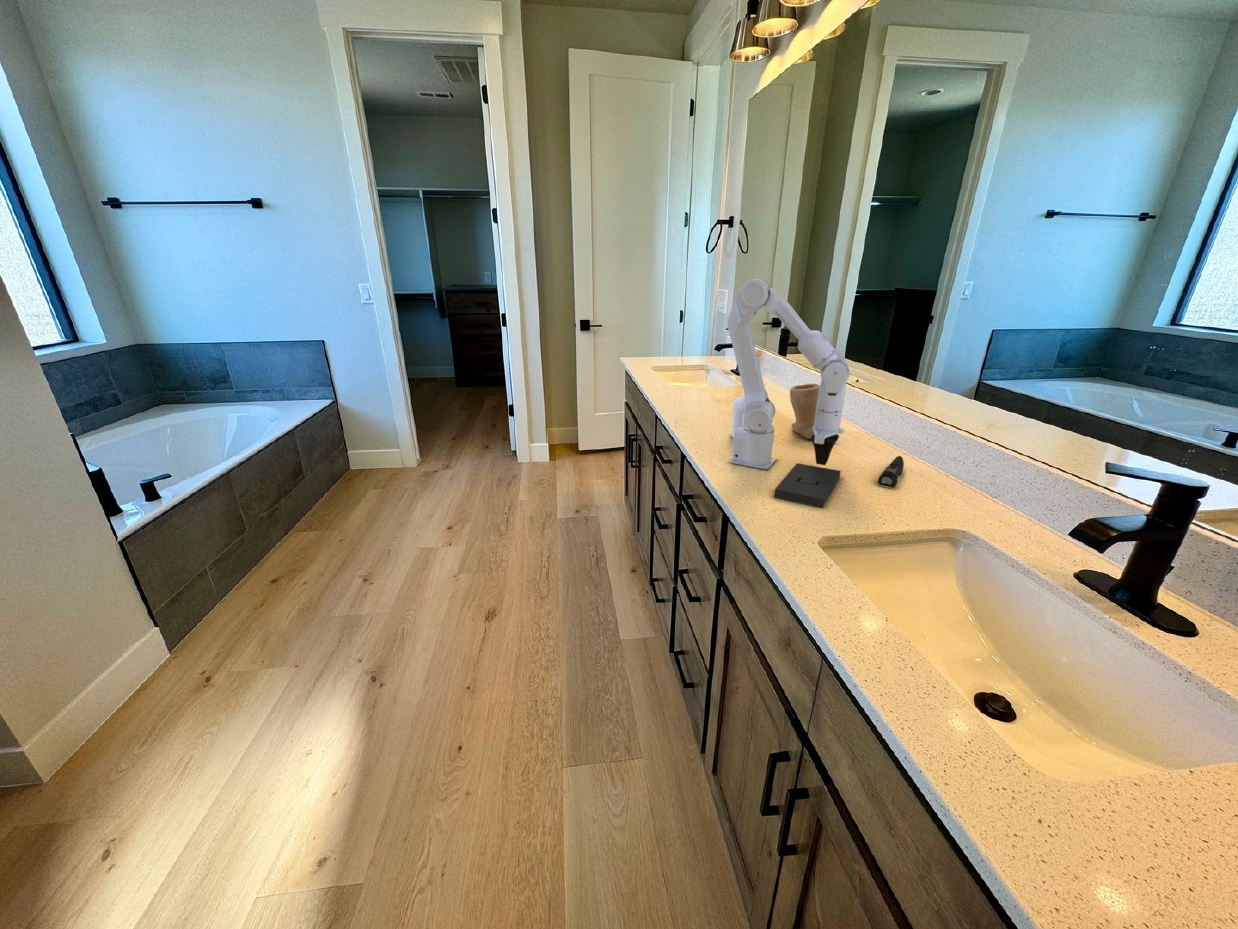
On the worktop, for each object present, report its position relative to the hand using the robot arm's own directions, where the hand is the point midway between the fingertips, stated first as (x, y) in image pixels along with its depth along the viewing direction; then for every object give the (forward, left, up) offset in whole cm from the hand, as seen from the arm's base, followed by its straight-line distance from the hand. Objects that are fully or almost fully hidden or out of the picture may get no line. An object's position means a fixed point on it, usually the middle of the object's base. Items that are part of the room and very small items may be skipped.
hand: (821, 463), depth 120 cm
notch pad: (0, -17, -2) cm, 17 cm away
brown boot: (-9, +27, -2) cm, 28 cm away
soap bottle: (-24, +16, -2) cm, 29 cm away
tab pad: (0, -9, -2) cm, 9 cm away
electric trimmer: (+15, +4, -2) cm, 16 cm away
